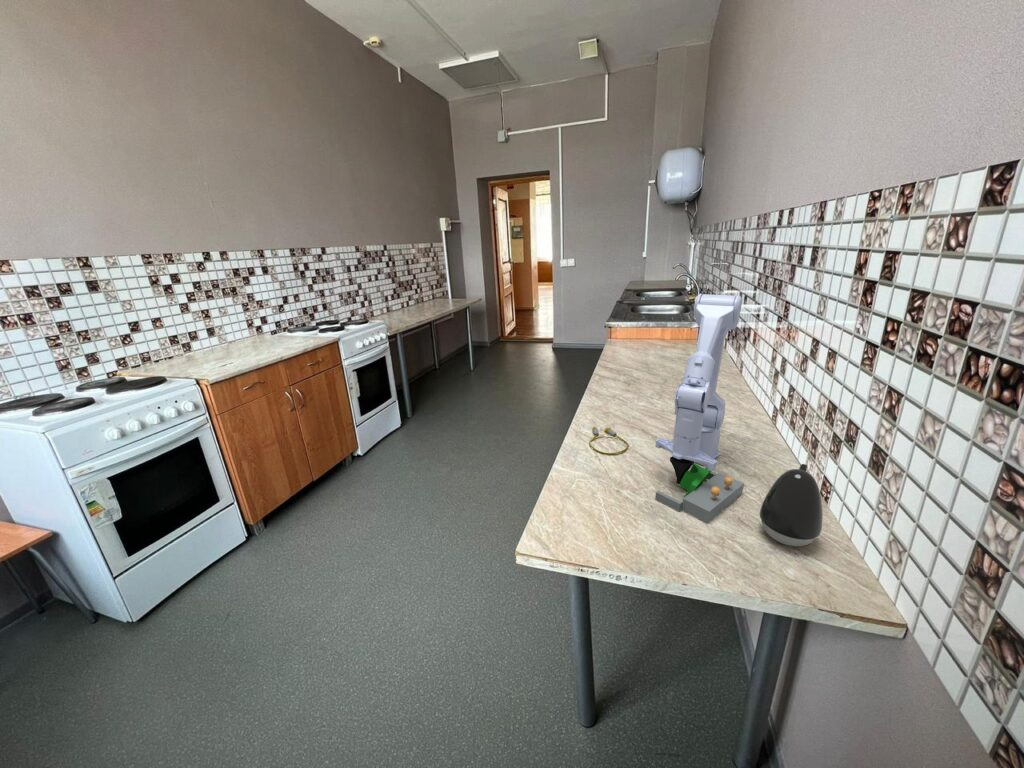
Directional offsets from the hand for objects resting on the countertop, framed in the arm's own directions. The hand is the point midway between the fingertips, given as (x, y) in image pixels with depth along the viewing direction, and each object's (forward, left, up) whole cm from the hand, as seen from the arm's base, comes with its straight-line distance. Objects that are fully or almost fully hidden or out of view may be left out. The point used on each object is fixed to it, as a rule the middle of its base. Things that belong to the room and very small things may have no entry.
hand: (680, 482), depth 99 cm
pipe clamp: (-1, +2, -1) cm, 2 cm away
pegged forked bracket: (0, +5, -1) cm, 5 cm away
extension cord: (-5, -26, -2) cm, 27 cm away
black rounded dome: (0, +23, -1) cm, 23 cm away
